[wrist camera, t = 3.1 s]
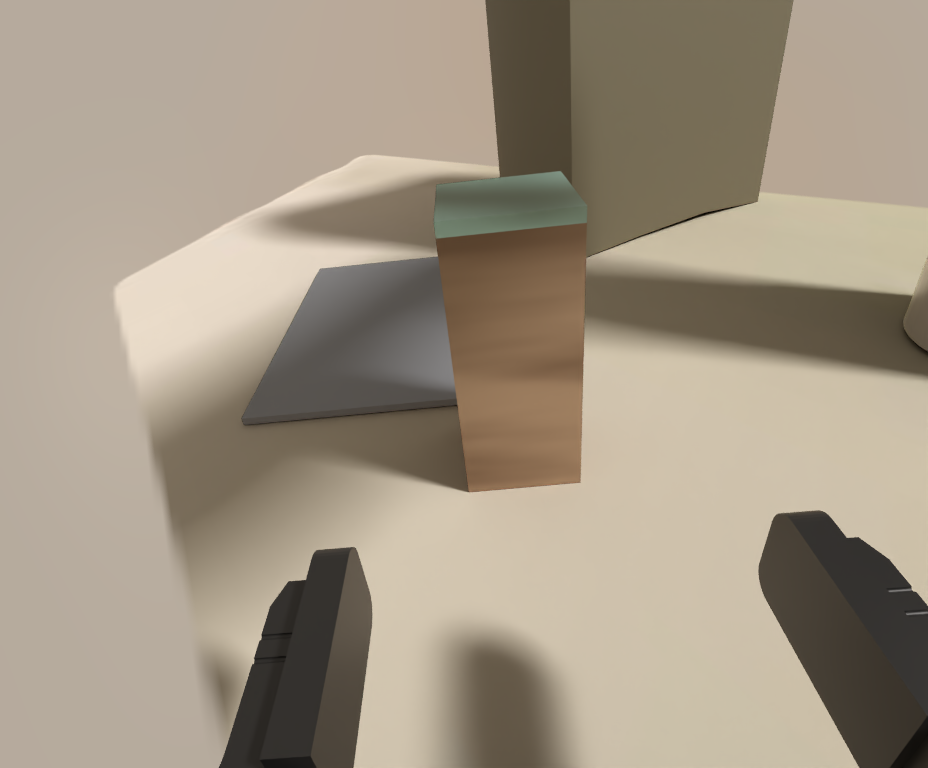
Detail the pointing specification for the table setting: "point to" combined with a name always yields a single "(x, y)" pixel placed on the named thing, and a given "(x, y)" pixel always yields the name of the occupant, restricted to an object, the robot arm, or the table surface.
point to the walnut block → (515, 324)
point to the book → (638, 103)
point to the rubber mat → (361, 346)
